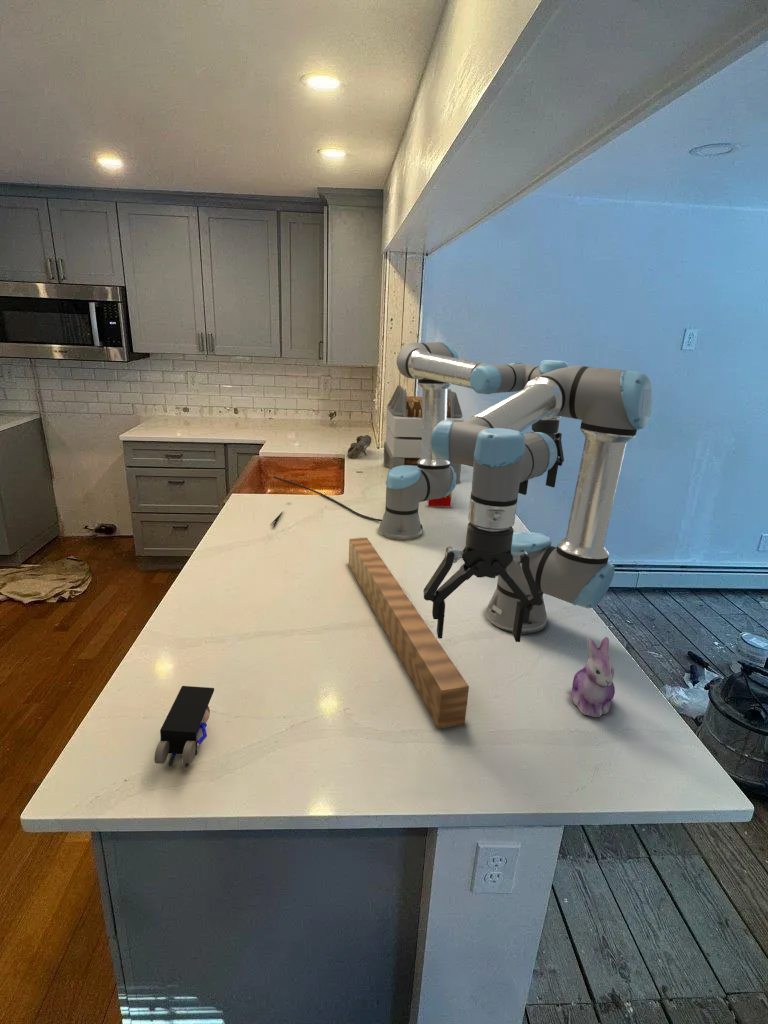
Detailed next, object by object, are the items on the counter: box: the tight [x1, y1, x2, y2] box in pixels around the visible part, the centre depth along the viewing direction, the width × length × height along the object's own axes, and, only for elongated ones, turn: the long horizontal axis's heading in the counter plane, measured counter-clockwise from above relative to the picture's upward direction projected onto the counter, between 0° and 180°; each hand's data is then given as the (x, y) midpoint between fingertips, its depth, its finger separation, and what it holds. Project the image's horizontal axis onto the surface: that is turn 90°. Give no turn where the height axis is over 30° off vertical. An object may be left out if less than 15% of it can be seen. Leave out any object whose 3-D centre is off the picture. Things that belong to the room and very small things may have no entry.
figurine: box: [570, 636, 616, 718], centre depth 114 cm, size 9×10×15 cm
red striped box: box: [427, 493, 453, 508], centre depth 240 cm, size 12×13×30 cm
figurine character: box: [153, 685, 215, 768], centre depth 100 cm, size 7×8×15 cm
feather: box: [270, 512, 283, 529], centre depth 212 cm, size 2×28×2 cm
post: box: [348, 537, 470, 729], centre depth 140 cm, size 74×6×9 cm, turn 17°
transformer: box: [383, 384, 466, 484], centre depth 268 cm, size 34×33×41 cm
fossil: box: [347, 434, 372, 459], centre depth 303 cm, size 22×10×15 cm
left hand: (536, 489), depth 166 cm, fingers open, 13 cm apart
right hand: (477, 636), depth 100 cm, fingers open, 13 cm apart
